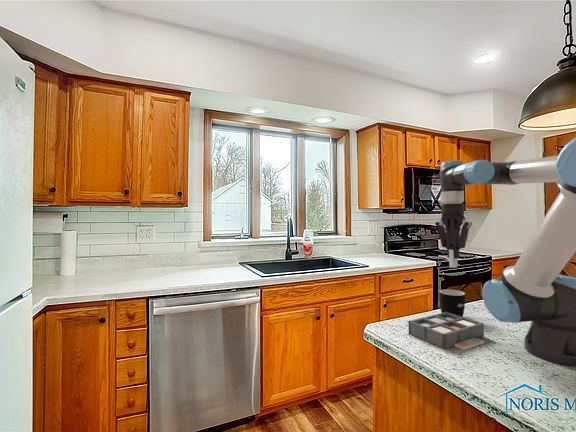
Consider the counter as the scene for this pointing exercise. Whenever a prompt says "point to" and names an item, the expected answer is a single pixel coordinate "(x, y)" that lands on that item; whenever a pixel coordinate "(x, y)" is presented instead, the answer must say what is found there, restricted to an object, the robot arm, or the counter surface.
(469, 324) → the key
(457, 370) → the counter surface
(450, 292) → the mug
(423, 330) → the gray compartment tray
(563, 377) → the counter surface
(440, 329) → the key
